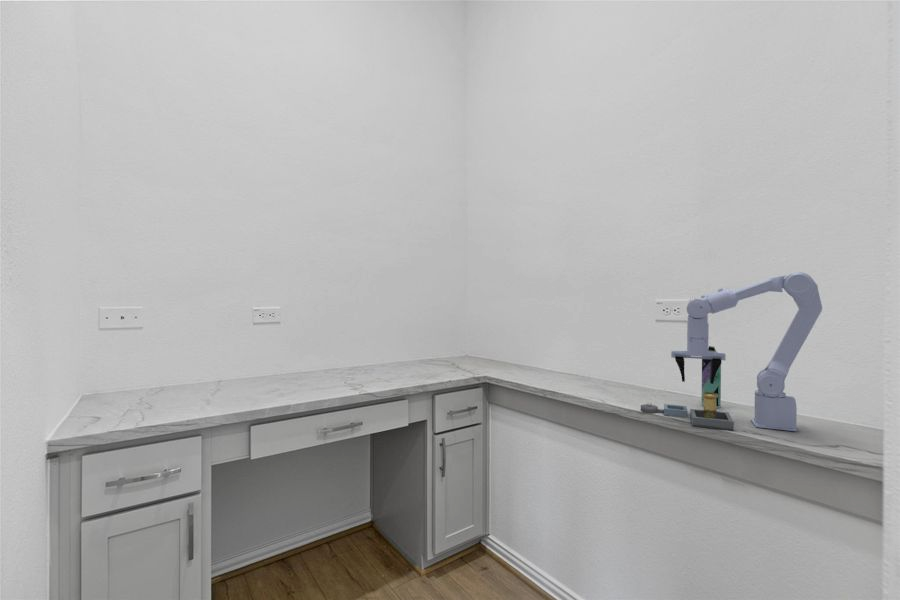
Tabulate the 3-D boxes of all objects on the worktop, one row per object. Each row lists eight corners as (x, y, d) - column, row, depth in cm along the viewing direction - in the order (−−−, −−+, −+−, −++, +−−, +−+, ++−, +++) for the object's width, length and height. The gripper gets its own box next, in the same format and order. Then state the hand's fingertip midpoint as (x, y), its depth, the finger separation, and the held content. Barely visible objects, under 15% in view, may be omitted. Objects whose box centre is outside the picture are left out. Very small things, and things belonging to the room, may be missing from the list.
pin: (716, 419, 131) (716, 392, 131) (718, 423, 127) (719, 395, 127) (700, 418, 133) (701, 391, 132) (703, 422, 129) (703, 394, 129)
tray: (728, 420, 132) (728, 412, 132) (733, 430, 123) (733, 421, 123) (690, 416, 136) (690, 408, 136) (692, 426, 127) (692, 417, 127)
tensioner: (686, 412, 141) (686, 404, 141) (687, 417, 136) (687, 409, 136) (641, 407, 147) (641, 400, 147) (640, 412, 141) (640, 404, 141)
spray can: (703, 403, 152) (703, 345, 152) (721, 406, 149) (722, 346, 148) (700, 406, 148) (700, 346, 147) (719, 409, 144) (719, 348, 144)
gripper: (723, 337, 138) (723, 381, 138) (671, 335, 144) (670, 377, 144) (726, 340, 131) (726, 386, 132) (671, 338, 137) (671, 381, 138)
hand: (697, 382), depth 138 cm, fingers open, 7 cm apart
